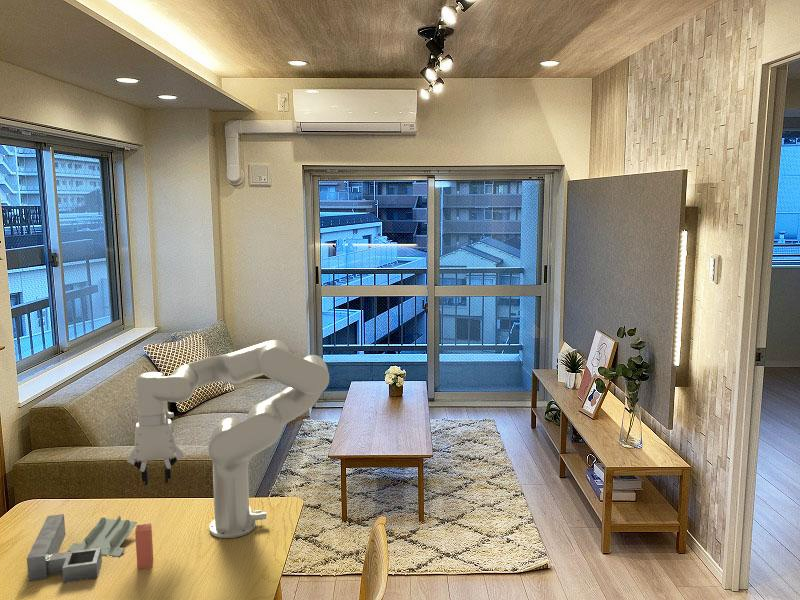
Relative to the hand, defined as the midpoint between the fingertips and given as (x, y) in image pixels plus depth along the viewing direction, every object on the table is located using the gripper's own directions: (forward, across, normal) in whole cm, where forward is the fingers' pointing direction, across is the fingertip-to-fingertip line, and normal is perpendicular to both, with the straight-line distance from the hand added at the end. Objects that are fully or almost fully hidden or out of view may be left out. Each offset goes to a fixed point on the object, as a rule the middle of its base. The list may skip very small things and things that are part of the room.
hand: (156, 481), depth 177 cm
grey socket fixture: (+15, +21, +6) cm, 27 cm away
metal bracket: (+16, +13, +1) cm, 21 cm away
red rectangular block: (+15, +2, +15) cm, 22 cm away
